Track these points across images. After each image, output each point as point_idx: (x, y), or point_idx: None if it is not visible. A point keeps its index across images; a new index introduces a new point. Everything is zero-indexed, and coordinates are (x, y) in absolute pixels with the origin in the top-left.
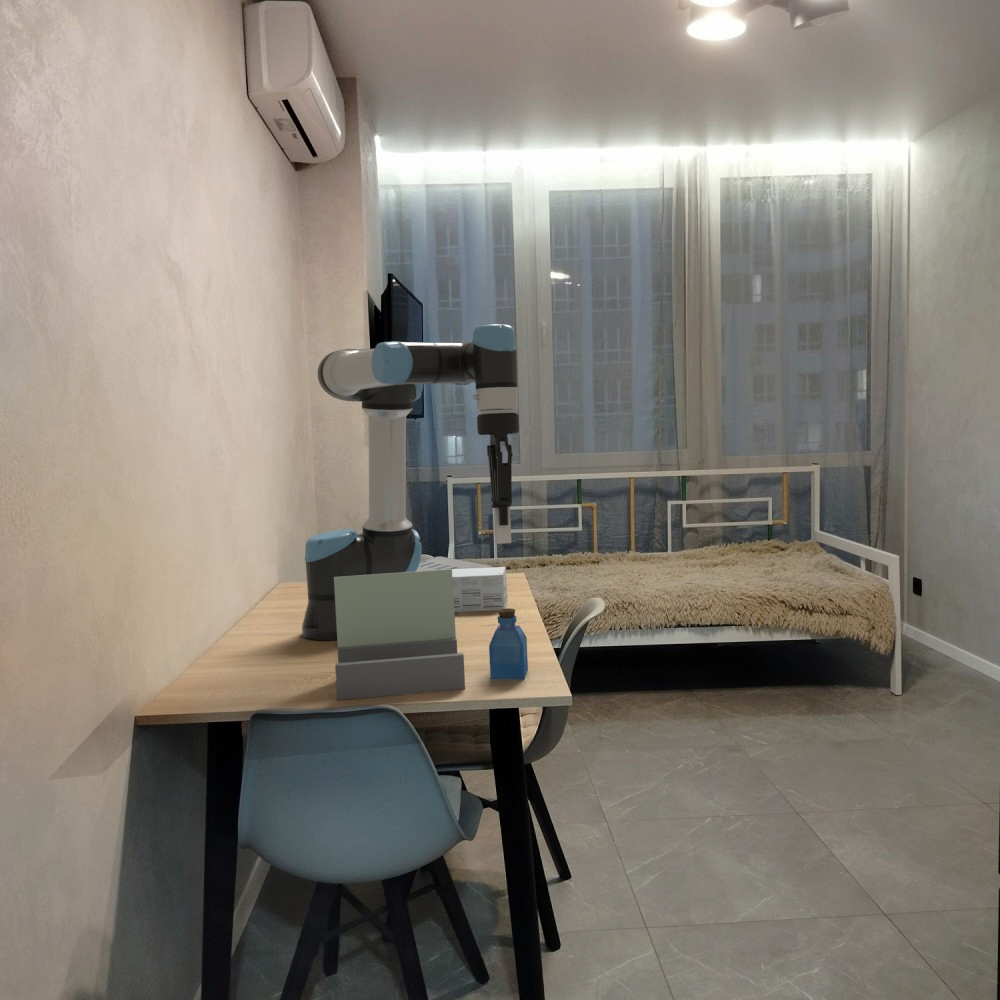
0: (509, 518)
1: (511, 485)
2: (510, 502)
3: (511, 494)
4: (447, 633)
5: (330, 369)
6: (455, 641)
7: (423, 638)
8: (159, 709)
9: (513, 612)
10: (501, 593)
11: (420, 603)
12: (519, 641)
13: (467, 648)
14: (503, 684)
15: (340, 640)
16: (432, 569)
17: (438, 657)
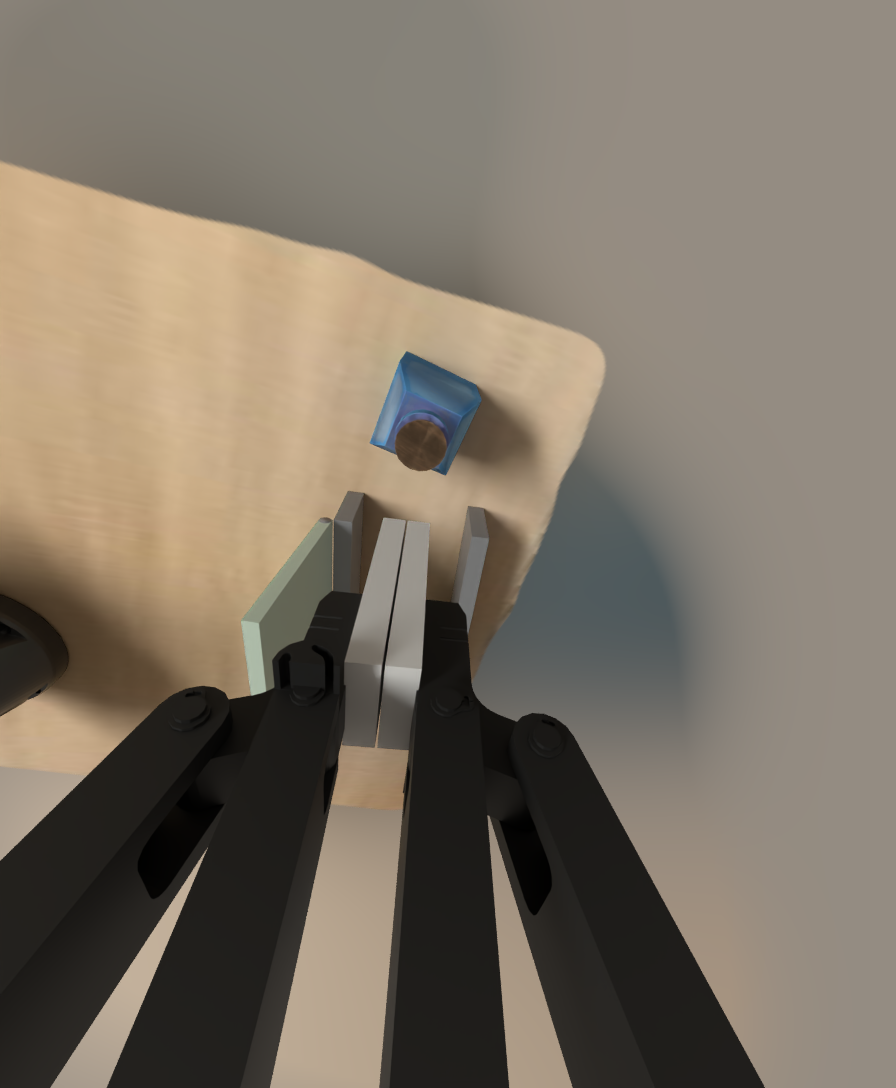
0: (424, 611)
1: (684, 946)
2: (566, 737)
3: (612, 812)
4: (329, 541)
5: None
6: (352, 522)
7: (331, 582)
8: (398, 801)
9: (440, 430)
10: None
11: (302, 634)
12: (474, 409)
13: (171, 429)
14: (490, 437)
15: None
16: None
17: (479, 580)
